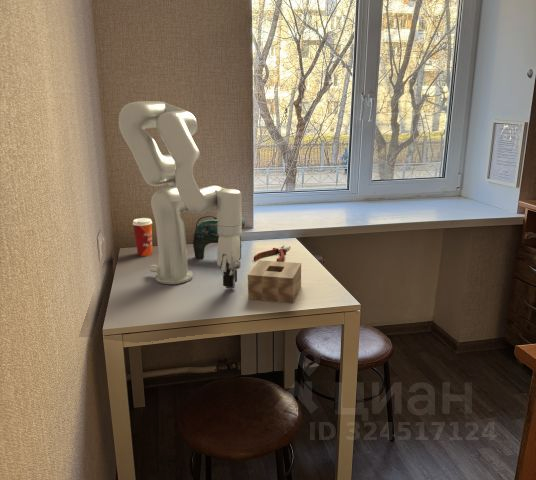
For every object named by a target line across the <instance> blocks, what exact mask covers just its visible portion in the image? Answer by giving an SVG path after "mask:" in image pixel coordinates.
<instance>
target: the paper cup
mask: <svg viewBox="0 0 536 480" xmlns="http://www.w3.org/2000/svg"><path fill="white" fill-rule="evenodd" d="M132 226H133V231H134V237H135V238H134V239H135V246H136V250H137V255H138V256H140V257H148V256H151V255H153V228H152V227H153V221H152V219H151V218H148V217H140V218H134V219H133V220H132Z"/></svg>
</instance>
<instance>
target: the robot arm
mask: <svg viewBox="0 0 536 480" xmlns="http://www.w3.org/2000/svg"><path fill="white" fill-rule="evenodd" d="M118 115H119V116H118V128H119V131H120V134H121V137H123V139H124V141H125V143H126V145H127V146H128V148H129V149H130V151H131V153H132V156H133V158H134V160H135V162H136V165H137V167H138V169H139V171H140V173H141V176H142V177H143V178H142V179H143V180H144V181H145V182H146V184H147V185H148V186H151V187H159V186H164V185H169V186H167V187H163V188H161V189H159V190H157V191H155V192H154V194H153V195H152V196H151V200H150V205H151V210H152V214H153V217H154V221H155V229H156V242H157V243H156V244H157V251H158V252H157V253H158V265H157V264H150V265H149V272H151V273H156V274H155V280H156V282H157V283H160V284H162V285H163V284H164V285H180V284H184V283H186V282H189V281H191V280H192V279H193V278H194V276H193V273H194V272H192V271H191V270H189V267H188V266H189V265H188V251H187V249H188V248H187V236H186V235H187V234H186V227H185V223H184V220H183V218H182V217H181V214H184V213H185V212H188V211H190V212H191V213H192V214H195V215H203V214H206V213H208V212H210V211H215V210H216V211H217V212H216V213H217V217H216V218H217V222H218V235H219V239H218V243H217V253H216V255H217V256H216V264H217V266H218V267H220V265H221V264H222V269H221V268H220V270H221V272H222V285H223V287H225V286H228V287H233V275H232V270H231V269H230V270H229V269H227V264H229V266H230V267H232V266H233V265H234V264H235V263H236V262H237V261H238V260H240V259H241V258H240V237H241V235H242V233H243V229H242V217H243V211H242V210H243V208H242V205H243V202H242V201H243V200H242V199H243V198H242V197H243V196H242V195H243V194H242V192H241V191H240V190H238V189H236V188H225V187H222V186H220V185H209V186H204V187H201V188H199V186H198V184H197V182H196V180H195V177H194V174H193V173H194V172H193V168H194V164H195V162H196V161H197V160H198V159H199V158H200V155H201V154H200V153H201V152H200V150H199V148H198V146H197V145H196V143H195V140H194V139H193V137H192V136H194V135H195V134H196V133H197V130H198V121H197V118H196V117H195V116H194V114H193V113H191V112H190V111H188V110H185V109H183V108H181V107H178V106H175V105H172V104H170V103H167V102H166V101H159V100H158V101H157V100H155V101H154V100H151V101H150V100H149V101H147V100H143V101H142V100H141V101H133V102H129V103H127V104H125V105H124V106H123V107H122V108H121V110H120V112H119V114H118ZM154 128H156V130H157V132H158V134H159V136H160V137H161V140H162V142H163V143H164V145H165V147H166V148H167V151H168V153H169V154H162V151H160V148H159V146H158V144H157V142H156V140H155V139H154V138H153V137H152V136H151V135H150V134H149V133H148V132H147V130H146V129H154ZM239 258H240V259H239ZM237 282H238V269H236V270H235V283H237Z"/></svg>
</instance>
